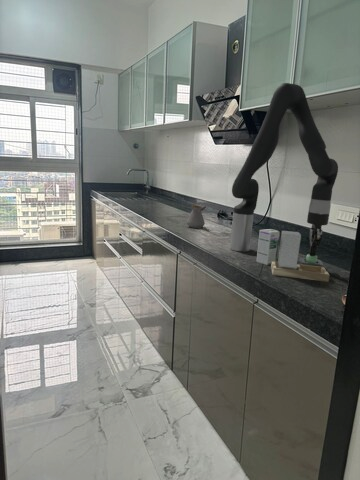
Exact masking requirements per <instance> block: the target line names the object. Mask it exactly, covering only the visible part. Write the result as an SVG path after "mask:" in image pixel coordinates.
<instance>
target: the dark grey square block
mask: <svg viewBox="0 0 360 480" xmlns="http://www.w3.org/2000/svg"><path fill="white" fill-rule="evenodd" d="M297 264H302V265H310V266H319V267H324V268H325V265H324V263H323V261H322V260H321V259H317V263H310V262H306V257H301V256H300V257H299V256H298V261H297Z"/></svg>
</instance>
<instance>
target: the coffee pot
mask: <svg viewBox="0 0 360 480" xmlns="http://www.w3.org/2000/svg"><path fill="white" fill-rule="evenodd" d="M191 209H192V210H191V212H190V213H189V216H188V217H187V220H186V221H185V223H186V225H187V226H188V227H189V228H192V229H202V227H204V226H205V224H206V223H205V222H206V221H205V220H204V217H203V212H202V211H205V210H208V208H207V206H203V207H202V205H201V206H200V205H199V206H198V205H191Z"/></svg>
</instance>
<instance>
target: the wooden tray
mask: <svg viewBox="0 0 360 480" xmlns="http://www.w3.org/2000/svg"><path fill="white" fill-rule="evenodd" d="M277 263H278V261H276V262H275V261H272V263H271V264H270V270H271V273H272V274H271V275H272V276H277V277H285V278H295V279H302V280H303V279H304V280H312V281H319V282H329V281H330V274H329V272H328V270H326V268H325V266H324V267H319V266H310V265H302V264H298V263H297V267H296V270H291V269H283V268H277Z"/></svg>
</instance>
